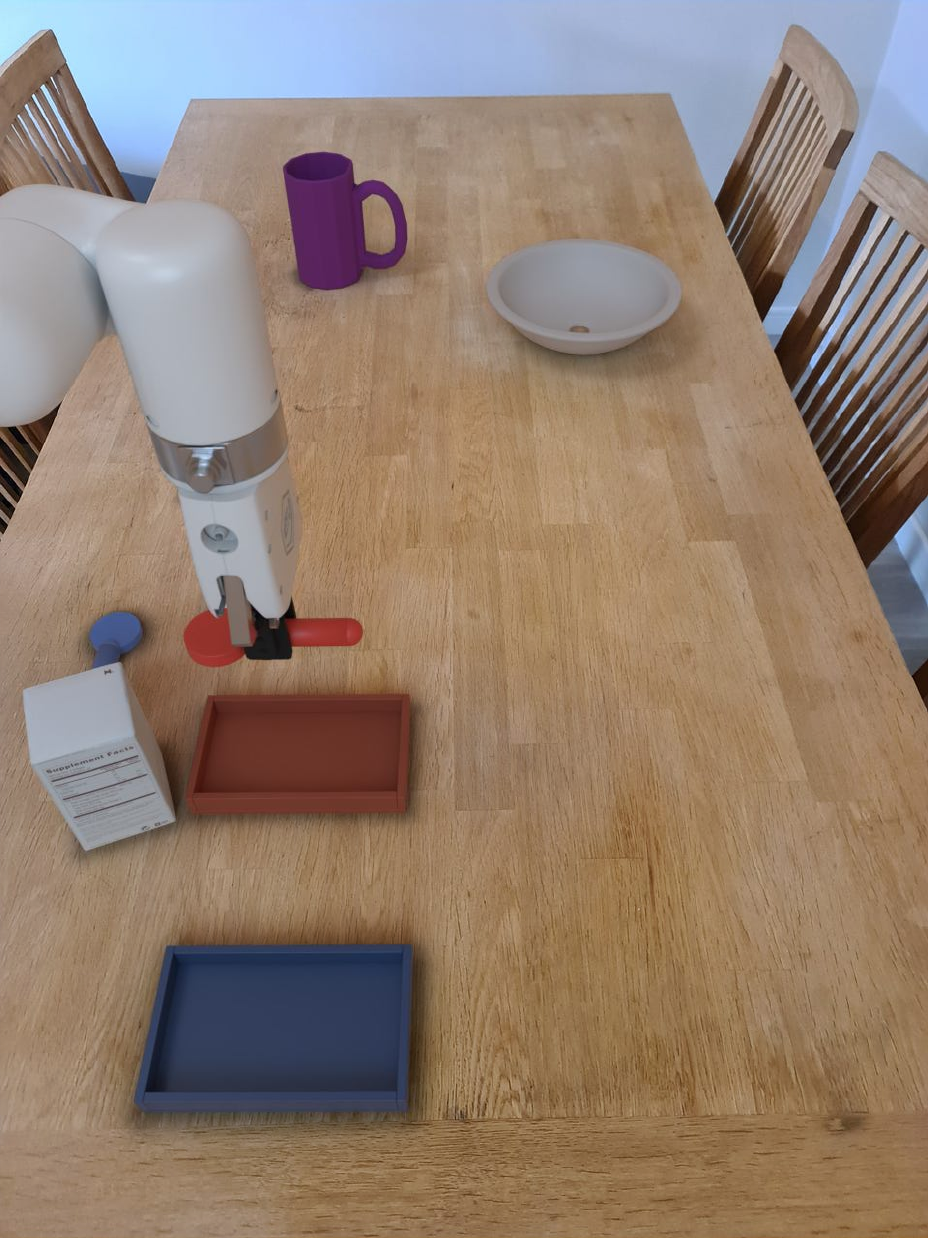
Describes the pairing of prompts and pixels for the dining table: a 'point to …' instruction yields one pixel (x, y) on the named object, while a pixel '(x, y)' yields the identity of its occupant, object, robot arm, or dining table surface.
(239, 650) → the red spoon
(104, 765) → the white packaging box
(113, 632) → the blue spoon
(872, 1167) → the dining table surface
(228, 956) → the slate-blue tray
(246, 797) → the terracotta tray
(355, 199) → the mug
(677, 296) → the white vessel sink
